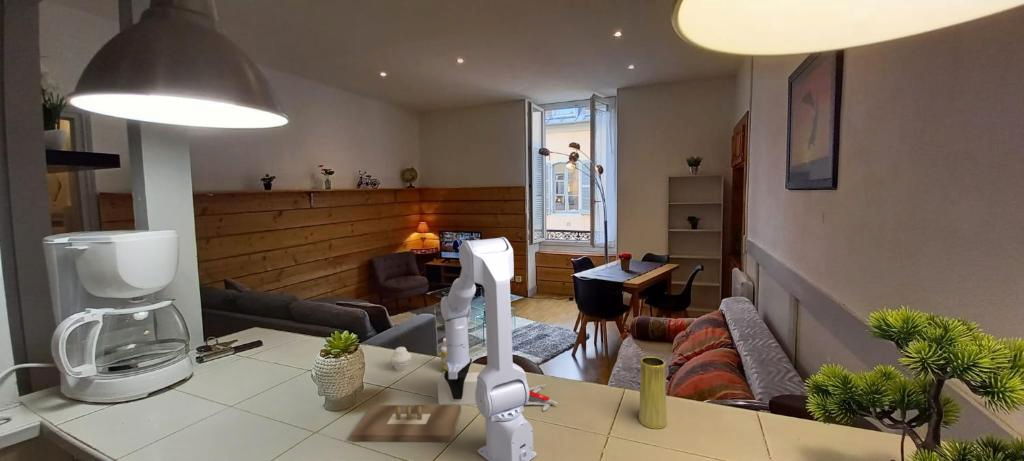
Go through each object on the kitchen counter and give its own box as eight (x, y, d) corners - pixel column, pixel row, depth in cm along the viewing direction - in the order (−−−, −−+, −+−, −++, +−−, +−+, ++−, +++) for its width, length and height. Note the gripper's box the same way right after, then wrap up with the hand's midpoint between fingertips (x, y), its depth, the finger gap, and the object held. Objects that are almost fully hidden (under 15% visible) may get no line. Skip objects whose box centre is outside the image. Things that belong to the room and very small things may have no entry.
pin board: (461, 410, 97) (460, 393, 97) (451, 441, 85) (450, 422, 85) (373, 411, 98) (372, 393, 98) (351, 441, 86) (349, 422, 86)
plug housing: (480, 394, 105) (479, 372, 104) (477, 404, 100) (476, 381, 99) (443, 394, 105) (442, 372, 105) (438, 404, 100) (437, 381, 100)
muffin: (391, 366, 124) (389, 344, 123) (411, 363, 126) (410, 341, 125) (391, 374, 118) (389, 352, 117) (412, 371, 120) (411, 349, 119)
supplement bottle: (456, 374, 116) (454, 342, 115) (439, 373, 118) (437, 341, 117) (462, 366, 122) (460, 335, 121) (445, 365, 123) (444, 335, 122)
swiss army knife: (569, 397, 102) (569, 389, 102) (541, 422, 91) (541, 414, 91) (533, 385, 109) (532, 378, 109) (502, 407, 98) (502, 399, 98)
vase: (649, 431, 86) (649, 368, 85) (633, 416, 92) (633, 357, 91) (673, 426, 88) (673, 364, 87) (656, 411, 94) (656, 353, 92)
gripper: (447, 332, 108) (450, 379, 110) (434, 353, 94) (437, 408, 95) (473, 331, 108) (475, 379, 109) (464, 353, 94) (466, 408, 95)
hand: (459, 392), depth 102 cm, fingers closed on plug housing, 5 cm apart
